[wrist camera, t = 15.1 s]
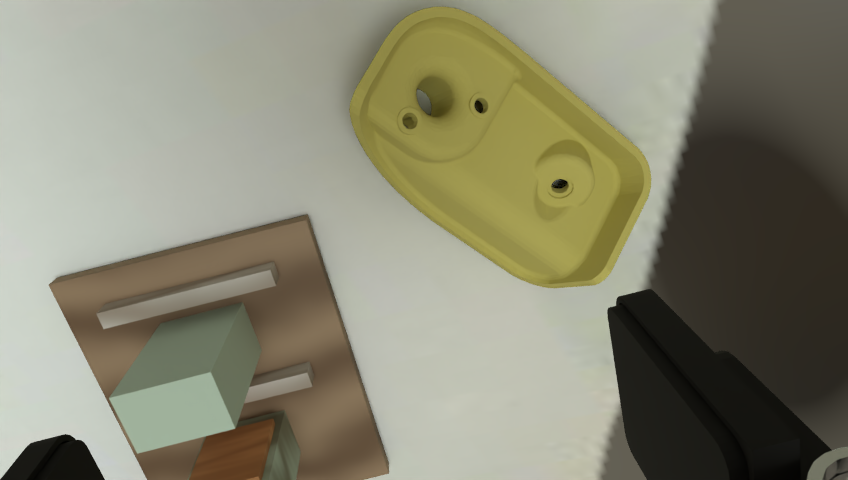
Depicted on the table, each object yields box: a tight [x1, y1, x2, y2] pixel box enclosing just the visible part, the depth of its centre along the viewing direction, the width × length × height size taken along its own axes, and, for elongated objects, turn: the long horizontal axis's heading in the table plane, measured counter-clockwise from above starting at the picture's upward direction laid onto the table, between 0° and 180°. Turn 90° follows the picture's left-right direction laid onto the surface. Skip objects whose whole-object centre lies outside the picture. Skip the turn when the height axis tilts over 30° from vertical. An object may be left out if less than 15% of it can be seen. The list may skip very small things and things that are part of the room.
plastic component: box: [349, 7, 651, 288], centre depth 40 cm, size 20×7×10 cm
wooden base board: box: [49, 215, 389, 480], centre depth 42 cm, size 22×18×10 cm
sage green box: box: [109, 302, 262, 454], centre depth 40 cm, size 4×6×9 cm
